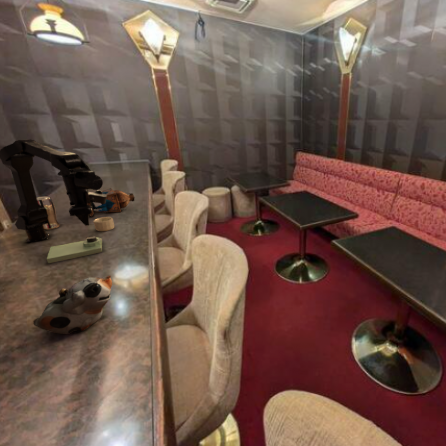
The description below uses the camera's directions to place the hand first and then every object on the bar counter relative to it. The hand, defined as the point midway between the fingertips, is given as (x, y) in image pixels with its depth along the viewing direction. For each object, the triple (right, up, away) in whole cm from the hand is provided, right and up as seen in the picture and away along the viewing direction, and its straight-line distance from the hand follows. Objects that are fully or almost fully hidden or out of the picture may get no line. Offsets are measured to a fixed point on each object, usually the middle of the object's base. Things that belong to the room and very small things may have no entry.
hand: (87, 225), depth 100 cm
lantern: (-26, +8, +47) cm, 54 cm away
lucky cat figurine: (+27, -25, -32) cm, 49 cm away
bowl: (-10, -2, +22) cm, 25 cm away
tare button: (0, -7, +3) cm, 7 cm away
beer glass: (-37, -1, +22) cm, 43 cm away
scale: (-5, -11, +1) cm, 12 cm away
